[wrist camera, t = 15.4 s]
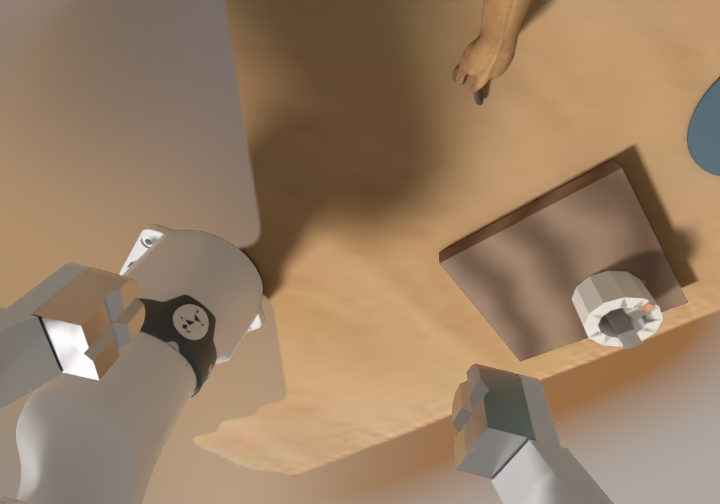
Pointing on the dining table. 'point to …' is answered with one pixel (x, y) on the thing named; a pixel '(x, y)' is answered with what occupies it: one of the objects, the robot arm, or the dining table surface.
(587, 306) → the white hollow tube
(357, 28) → the dining table surface
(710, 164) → the cocktail glass
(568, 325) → the board
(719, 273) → the dining table surface
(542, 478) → the robot arm
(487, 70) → the lion figurine
